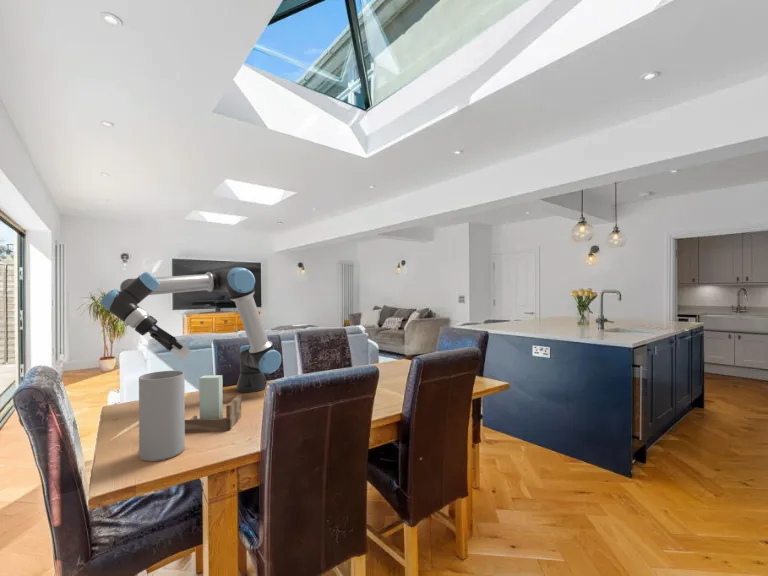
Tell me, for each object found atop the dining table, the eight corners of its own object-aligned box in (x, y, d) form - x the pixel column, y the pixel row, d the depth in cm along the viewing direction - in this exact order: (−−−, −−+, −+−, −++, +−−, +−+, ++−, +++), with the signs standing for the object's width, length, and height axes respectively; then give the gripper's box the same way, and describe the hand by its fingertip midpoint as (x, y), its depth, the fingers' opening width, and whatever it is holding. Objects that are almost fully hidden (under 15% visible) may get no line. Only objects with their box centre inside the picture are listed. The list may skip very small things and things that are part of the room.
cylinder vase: (191, 452, 120) (190, 374, 120) (146, 466, 111) (146, 381, 111) (176, 442, 129) (176, 369, 129) (134, 454, 119) (133, 375, 119)
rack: (194, 421, 148) (194, 396, 148) (241, 420, 150) (241, 394, 150) (178, 435, 134) (177, 407, 134) (229, 433, 136) (229, 405, 136)
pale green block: (203, 422, 144) (203, 375, 144) (222, 422, 144) (222, 375, 144) (199, 426, 140) (199, 378, 140) (219, 425, 140) (218, 377, 140)
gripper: (134, 334, 154) (178, 366, 159) (132, 322, 133) (182, 360, 138) (149, 321, 158) (191, 352, 163) (149, 307, 137) (197, 344, 142)
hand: (187, 356), depth 150 cm, fingers open, 13 cm apart
